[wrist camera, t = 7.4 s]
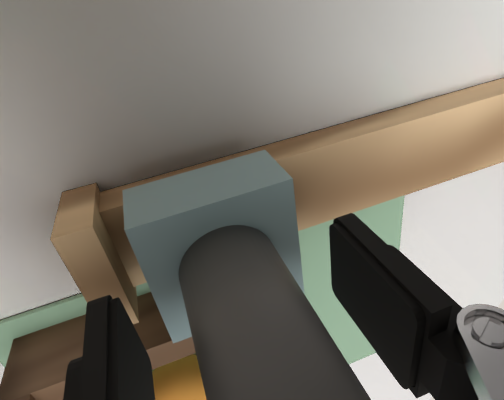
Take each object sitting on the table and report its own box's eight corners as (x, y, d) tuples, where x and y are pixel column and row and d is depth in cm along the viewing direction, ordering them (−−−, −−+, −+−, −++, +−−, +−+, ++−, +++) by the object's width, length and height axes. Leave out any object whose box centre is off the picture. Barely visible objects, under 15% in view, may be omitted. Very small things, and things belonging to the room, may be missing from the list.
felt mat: (-25, 328, 15) (-27, 332, 14) (402, 186, 18) (405, 188, 18) (97, 468, 22) (97, 471, 21) (388, 344, 25) (390, 346, 25)
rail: (62, 192, 13) (50, 239, 11) (563, 53, 18) (637, 63, 15) (106, 279, 15) (105, 334, 13) (538, 137, 20) (598, 157, 17)
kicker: (121, 172, 13) (136, 470, 5) (252, 136, 14) (443, 336, 6) (205, 384, 20) (265, 643, 12) (286, 351, 21) (392, 571, 13)
